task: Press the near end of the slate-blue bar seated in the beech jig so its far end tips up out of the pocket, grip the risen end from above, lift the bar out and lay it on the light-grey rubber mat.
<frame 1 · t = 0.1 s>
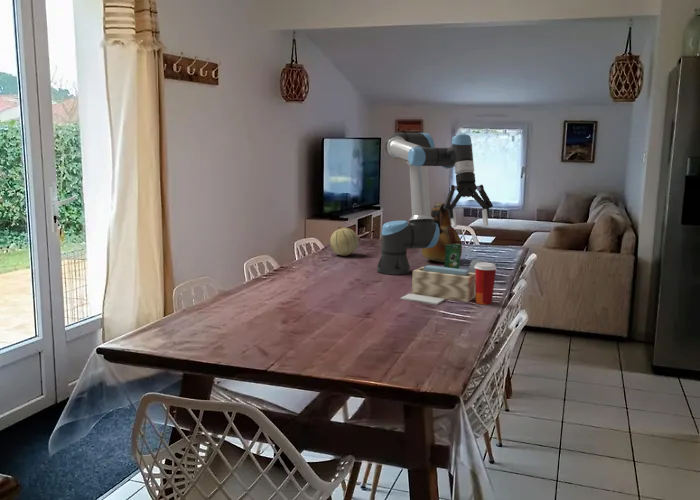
hand: (470, 226, 254), 28 cm above the table, tool tilted 20°, fingers open, 13 cm apart
coffee box: (451, 272, 303), on the table
ceramic mug: (480, 277, 293), on the table
mat: (422, 299, 251), on the table
jig: (445, 295, 258), on the table
cantaloupe: (344, 255, 339), on the table
bar: (445, 278, 256), point 7 cm above the table, touching jig
ceramic pitcher: (441, 262, 327), on the table
coffee cup: (483, 303, 248), on the table
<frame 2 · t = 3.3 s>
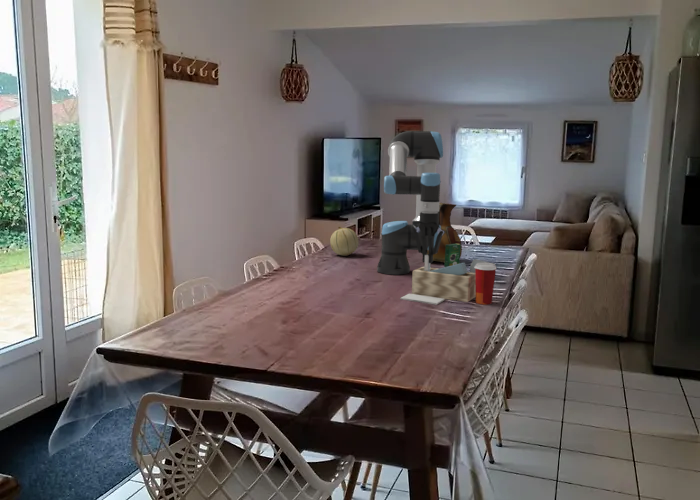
hand: (427, 270, 260), 9 cm above the table, tool pointing down, fingers closed
bar: (445, 277, 256), point 7 cm above the table, tilted 20°, touching jig
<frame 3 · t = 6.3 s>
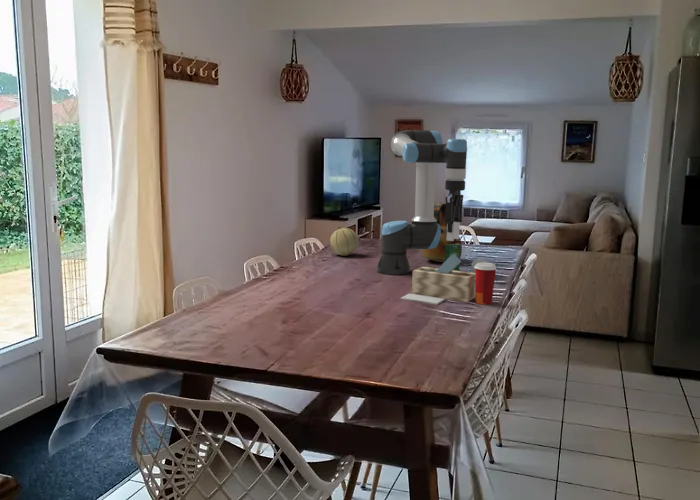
hand: (452, 239, 253), 23 cm above the table, tool pointing down, fingers open, 5 cm apart
bar: (445, 276, 256), point 8 cm above the table, tilted 50°, touching jig
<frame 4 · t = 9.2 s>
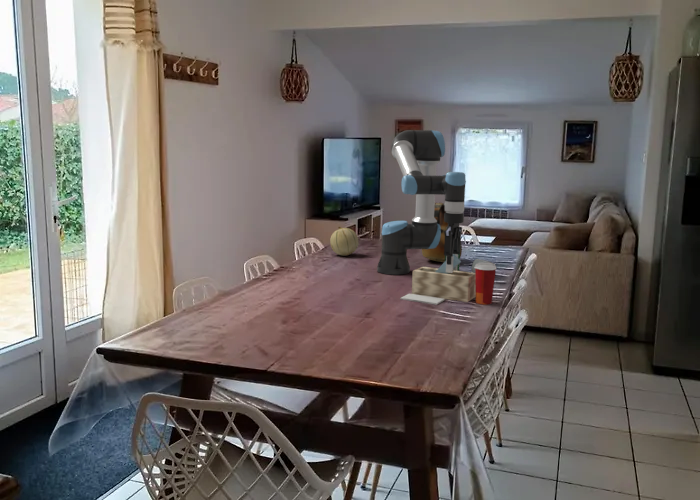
hand: (451, 271, 255), 10 cm above the table, tool pointing down, fingers closed on bar, 4 cm apart
bar: (445, 276, 256), point 8 cm above the table, tilted 50°, touching gripper, jig
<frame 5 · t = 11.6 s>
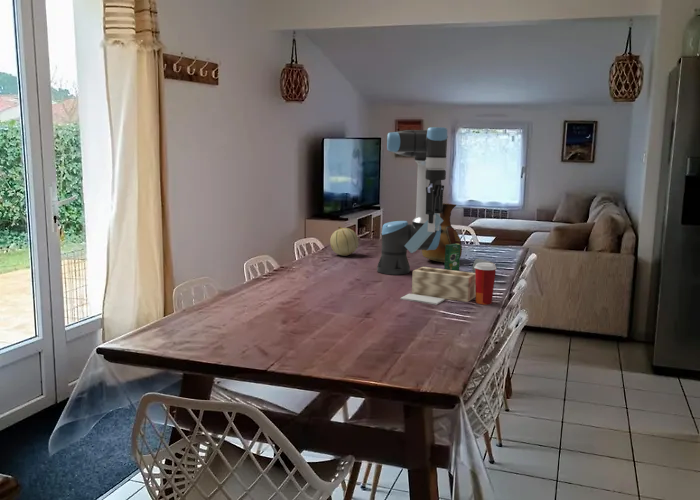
hand: (433, 230, 247), 27 cm above the table, tool pointing down, fingers closed on bar, 4 cm apart
bar: (427, 237, 248), point 24 cm above the table, tilted 50°, touching gripper
when the fingers open (12 cm above the table, at t = 14.3 s): bar drops 9 cm, resting on mat.
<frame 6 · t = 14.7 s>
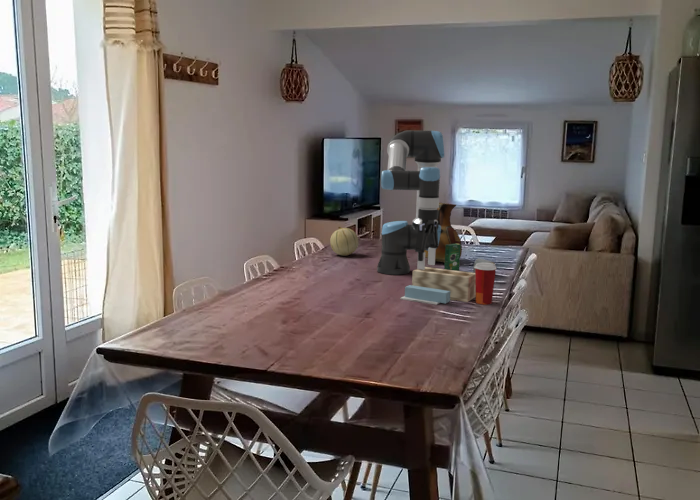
hand: (426, 266, 248), 13 cm above the table, tool pointing down, fingers open, 9 cm apart
bar: (427, 299, 249), point 1 cm above the table, touching mat
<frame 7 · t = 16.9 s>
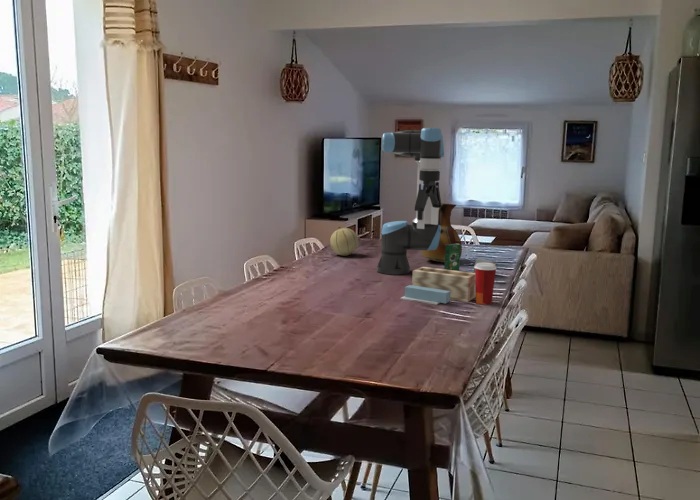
hand: (427, 226, 245), 29 cm above the table, tool pointing down, fingers open, 13 cm apart
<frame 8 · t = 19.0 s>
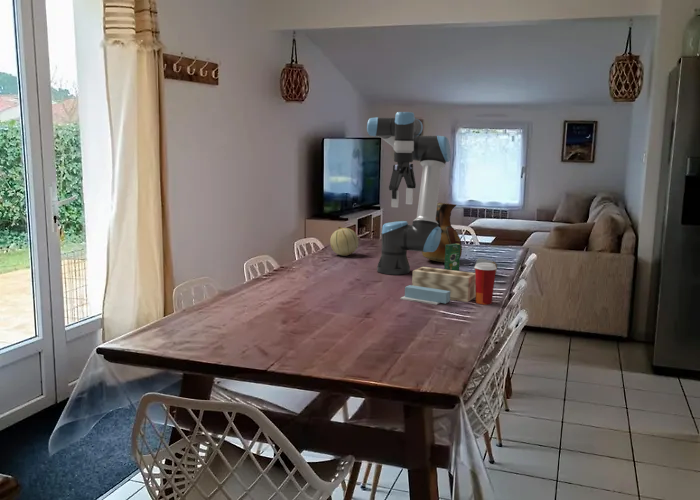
hand: (402, 205, 259), 35 cm above the table, tool pointing down, fingers open, 13 cm apart
at the end: bar inside the target area (2.6 cm from its centre), point 0.6 cm above the table; the gripper is holding nothing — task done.
